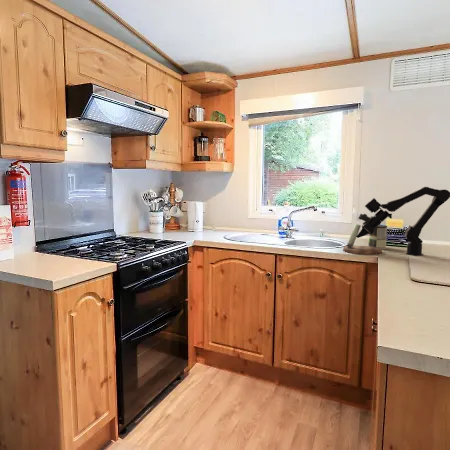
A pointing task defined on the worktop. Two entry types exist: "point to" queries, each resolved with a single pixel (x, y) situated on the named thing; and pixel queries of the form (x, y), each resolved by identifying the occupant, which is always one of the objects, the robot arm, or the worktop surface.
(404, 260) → the worktop surface
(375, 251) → the stool seat
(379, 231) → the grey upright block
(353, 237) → the folding leg
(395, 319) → the worktop surface
